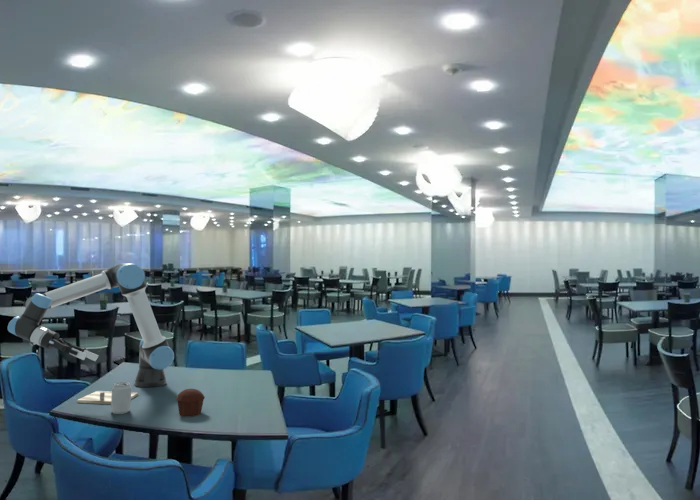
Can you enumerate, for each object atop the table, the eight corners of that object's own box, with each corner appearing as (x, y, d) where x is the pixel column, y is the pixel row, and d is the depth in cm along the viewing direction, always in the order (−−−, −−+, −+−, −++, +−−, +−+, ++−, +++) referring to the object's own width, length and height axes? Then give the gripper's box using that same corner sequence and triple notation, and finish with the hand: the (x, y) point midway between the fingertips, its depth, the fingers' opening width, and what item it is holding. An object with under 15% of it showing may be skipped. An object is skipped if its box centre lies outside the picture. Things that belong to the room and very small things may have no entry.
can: (134, 410, 216) (135, 382, 217) (121, 415, 209) (122, 386, 209) (120, 408, 219) (121, 380, 219) (106, 413, 212) (107, 384, 212)
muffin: (209, 411, 219) (210, 387, 219) (195, 418, 208) (196, 394, 208) (184, 408, 222) (185, 385, 222) (169, 416, 211) (170, 391, 211)
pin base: (97, 393, 241) (97, 384, 241) (138, 395, 240) (138, 386, 240) (76, 402, 225) (77, 393, 225) (121, 404, 224) (121, 395, 224)
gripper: (53, 347, 230) (97, 366, 231) (26, 344, 206) (75, 365, 207) (62, 332, 232) (105, 351, 233) (36, 326, 208) (84, 347, 209)
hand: (91, 357), depth 220 cm, fingers open, 13 cm apart
